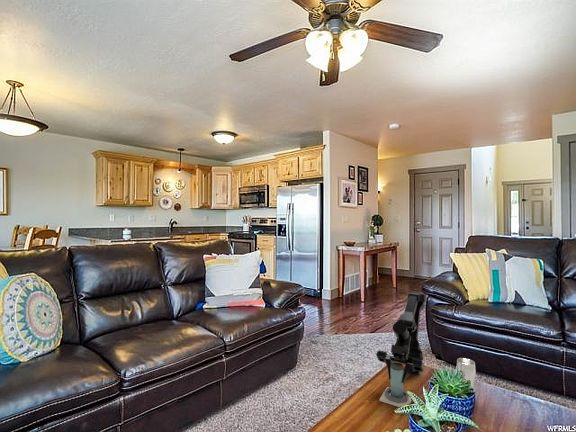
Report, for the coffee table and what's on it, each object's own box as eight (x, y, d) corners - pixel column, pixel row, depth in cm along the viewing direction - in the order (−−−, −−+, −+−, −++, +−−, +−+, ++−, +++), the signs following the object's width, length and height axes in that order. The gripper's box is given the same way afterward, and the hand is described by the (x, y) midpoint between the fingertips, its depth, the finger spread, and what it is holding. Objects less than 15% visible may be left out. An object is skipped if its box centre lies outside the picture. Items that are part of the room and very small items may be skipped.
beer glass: (462, 390, 141) (462, 356, 141) (478, 398, 135) (478, 362, 135) (453, 395, 137) (453, 360, 137) (469, 403, 131) (469, 366, 131)
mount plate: (387, 388, 143) (387, 383, 143) (413, 396, 137) (413, 390, 137) (379, 400, 133) (379, 395, 133) (407, 409, 127) (407, 403, 127)
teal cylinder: (392, 390, 138) (392, 361, 138) (404, 394, 136) (404, 364, 136) (389, 396, 134) (389, 366, 134) (401, 400, 132) (401, 369, 131)
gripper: (377, 331, 143) (369, 366, 134) (422, 340, 133) (416, 379, 124) (382, 343, 150) (375, 377, 141) (426, 353, 140) (421, 390, 131)
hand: (395, 380), depth 134 cm, fingers closed on teal cylinder, 5 cm apart
